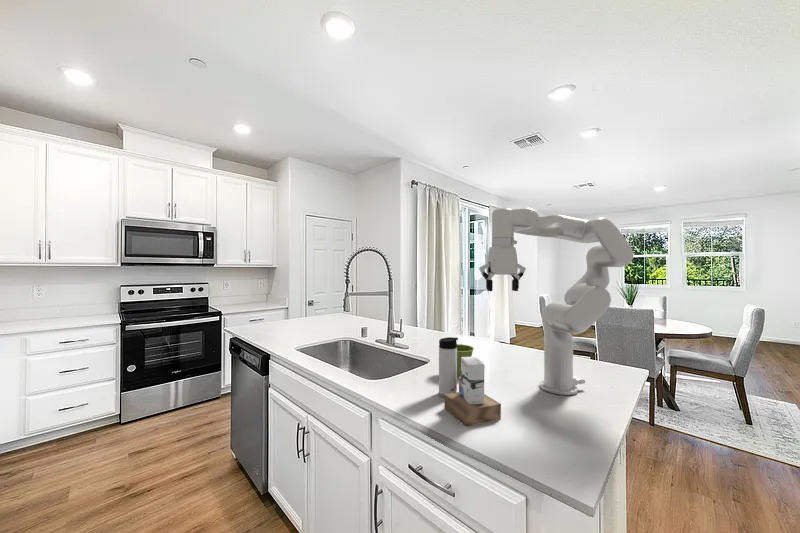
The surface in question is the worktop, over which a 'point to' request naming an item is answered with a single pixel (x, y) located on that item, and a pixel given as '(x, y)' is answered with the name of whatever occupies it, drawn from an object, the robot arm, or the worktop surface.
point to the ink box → (472, 380)
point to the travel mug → (447, 366)
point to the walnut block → (472, 409)
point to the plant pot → (462, 355)
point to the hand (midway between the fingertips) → (502, 290)
